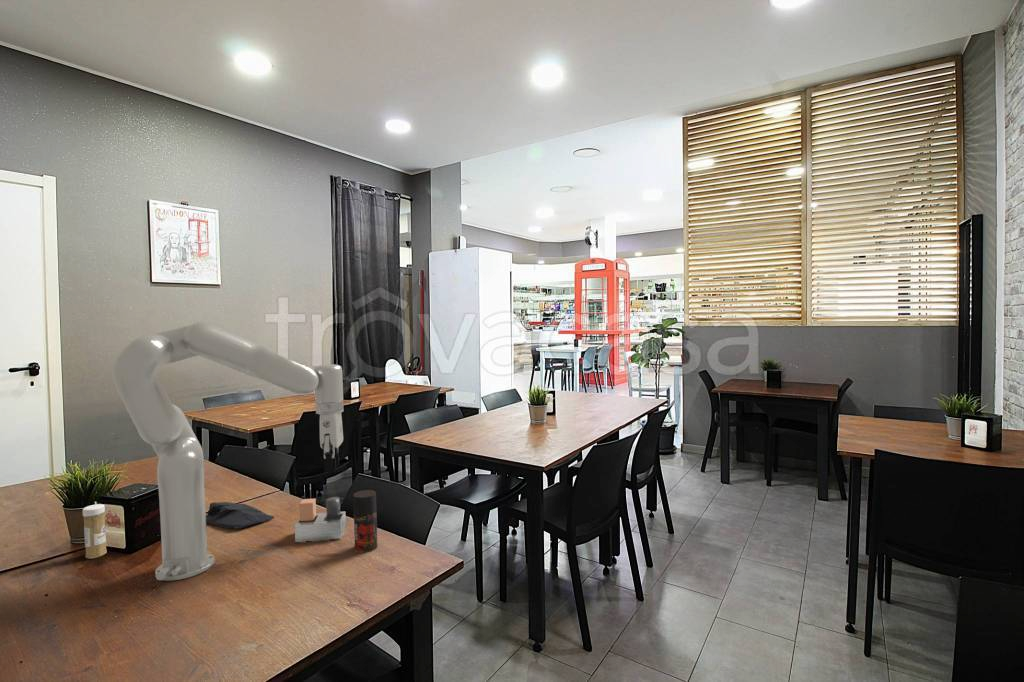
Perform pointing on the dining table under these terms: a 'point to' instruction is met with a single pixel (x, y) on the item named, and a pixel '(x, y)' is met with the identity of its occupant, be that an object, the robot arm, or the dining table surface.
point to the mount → (320, 528)
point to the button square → (307, 509)
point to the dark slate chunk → (234, 515)
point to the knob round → (332, 507)
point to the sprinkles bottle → (94, 531)
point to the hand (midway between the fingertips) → (331, 468)
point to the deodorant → (365, 521)
